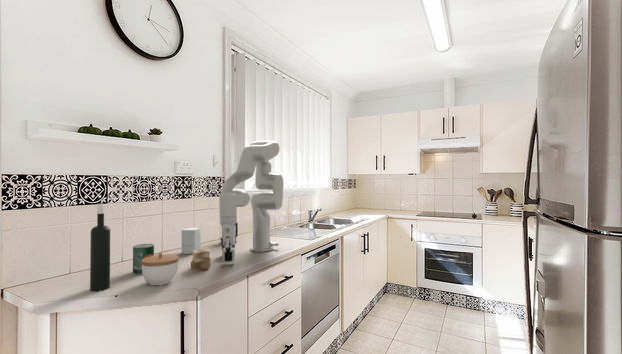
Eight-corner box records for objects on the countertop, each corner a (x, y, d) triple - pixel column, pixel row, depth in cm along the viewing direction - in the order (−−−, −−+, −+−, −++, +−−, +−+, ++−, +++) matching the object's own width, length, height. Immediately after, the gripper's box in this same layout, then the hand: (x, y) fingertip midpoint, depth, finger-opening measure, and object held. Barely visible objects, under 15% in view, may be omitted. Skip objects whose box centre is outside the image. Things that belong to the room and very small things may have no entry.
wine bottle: (87, 289, 107) (87, 204, 107) (105, 284, 112) (105, 203, 112) (94, 292, 104) (95, 204, 104) (113, 287, 109) (113, 203, 109)
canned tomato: (134, 270, 130) (134, 244, 130) (154, 268, 133) (154, 242, 133) (131, 275, 123) (131, 248, 123) (153, 273, 126) (153, 246, 126)
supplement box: (201, 251, 165) (201, 227, 165) (194, 254, 158) (194, 230, 158) (188, 250, 166) (188, 227, 166) (180, 254, 158) (181, 229, 159)
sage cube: (234, 258, 142) (234, 247, 142) (234, 261, 137) (234, 250, 137) (223, 258, 141) (223, 248, 141) (222, 262, 136) (222, 250, 136)
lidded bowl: (176, 286, 110) (176, 256, 110) (137, 290, 106) (137, 258, 106) (180, 275, 122) (180, 248, 122) (145, 278, 118) (145, 250, 119)
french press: (226, 245, 180) (226, 206, 180) (216, 243, 186) (216, 205, 186) (241, 241, 190) (241, 205, 190) (231, 240, 195) (232, 204, 195)
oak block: (206, 257, 137) (206, 248, 137) (209, 260, 132) (209, 251, 132) (192, 259, 134) (192, 250, 134) (194, 262, 128) (194, 252, 129)
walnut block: (210, 266, 136) (210, 257, 136) (207, 271, 129) (208, 261, 130) (194, 267, 135) (194, 258, 135) (190, 271, 128) (190, 262, 128)
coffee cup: (216, 255, 154) (217, 236, 155) (230, 253, 160) (230, 234, 161) (225, 258, 149) (225, 238, 149) (239, 255, 155) (239, 236, 155)
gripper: (235, 222, 131) (236, 264, 131) (237, 216, 148) (238, 253, 148) (217, 223, 130) (218, 265, 130) (221, 217, 146) (222, 254, 147)
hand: (228, 258), depth 139 cm, fingers closed on sage cube, 5 cm apart
